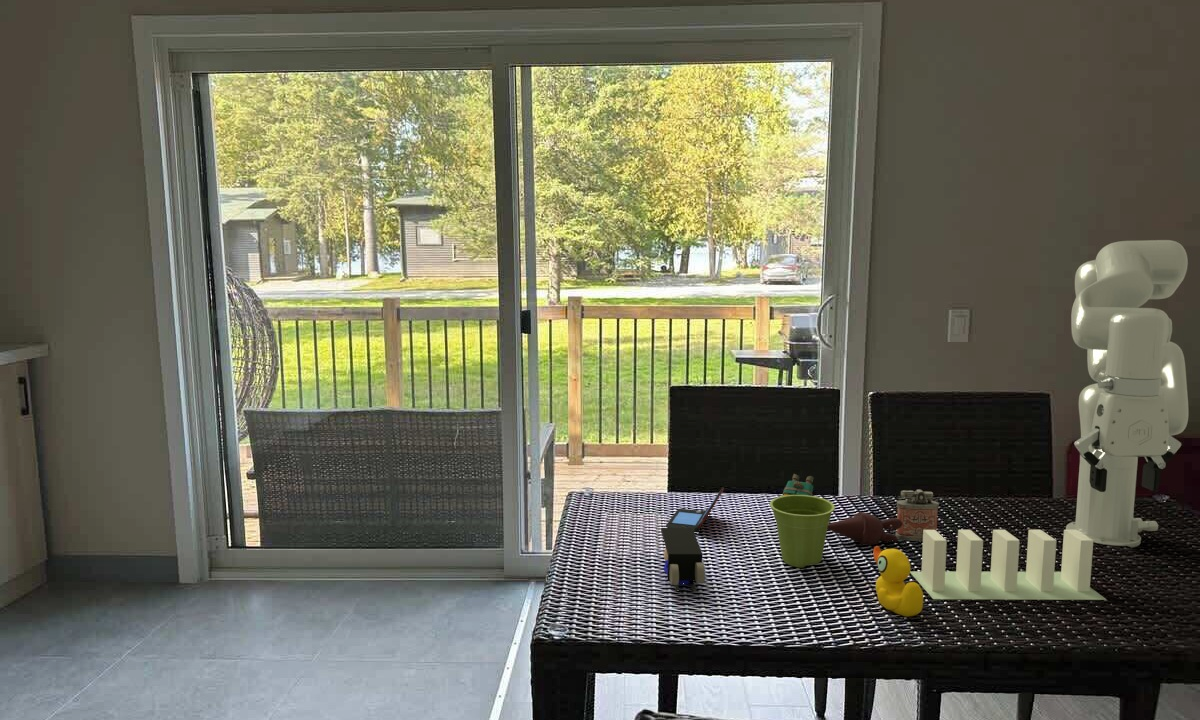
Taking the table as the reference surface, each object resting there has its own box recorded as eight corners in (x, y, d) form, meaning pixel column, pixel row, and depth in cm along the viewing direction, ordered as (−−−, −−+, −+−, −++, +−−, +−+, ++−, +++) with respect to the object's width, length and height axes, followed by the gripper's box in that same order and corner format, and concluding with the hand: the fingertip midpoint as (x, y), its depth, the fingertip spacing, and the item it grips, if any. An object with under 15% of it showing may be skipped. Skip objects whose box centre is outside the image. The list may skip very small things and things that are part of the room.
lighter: (933, 535, 155) (936, 488, 154) (939, 541, 152) (941, 493, 150) (893, 534, 156) (895, 487, 154) (898, 540, 152) (900, 492, 151)
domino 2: (967, 578, 132) (969, 529, 131) (980, 591, 127) (983, 540, 126) (955, 578, 132) (958, 529, 131) (968, 591, 127) (970, 540, 126)
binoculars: (777, 525, 168) (770, 497, 162) (788, 495, 173) (781, 466, 168) (818, 532, 163) (812, 503, 157) (828, 501, 169) (822, 472, 163)
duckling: (859, 597, 128) (861, 541, 126) (887, 593, 129) (889, 537, 128) (902, 628, 117) (904, 567, 115) (931, 623, 118) (934, 563, 117)
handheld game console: (677, 512, 172) (677, 481, 171) (724, 517, 168) (725, 485, 167) (663, 532, 160) (663, 498, 159) (713, 537, 156) (713, 503, 155)
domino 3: (1001, 578, 132) (1004, 529, 131) (1016, 591, 127) (1019, 540, 126) (990, 578, 132) (993, 529, 131) (1004, 591, 127) (1007, 540, 126)
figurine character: (708, 604, 130) (692, 559, 144) (709, 564, 128) (693, 523, 142) (669, 605, 129) (657, 561, 144) (669, 565, 127) (658, 524, 142)
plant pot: (772, 546, 151) (773, 492, 149) (834, 553, 147) (836, 497, 145) (765, 569, 140) (766, 511, 138) (831, 577, 136) (833, 517, 134)
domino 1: (932, 578, 133) (934, 529, 131) (944, 591, 128) (946, 540, 126) (921, 578, 133) (923, 529, 131) (932, 591, 128) (934, 540, 126)
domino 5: (1072, 578, 131) (1075, 529, 130) (1089, 591, 126) (1093, 540, 125) (1060, 578, 131) (1064, 529, 130) (1077, 591, 127) (1081, 540, 125)
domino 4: (1037, 578, 132) (1040, 529, 130) (1052, 591, 127) (1056, 540, 125) (1025, 578, 132) (1028, 529, 131) (1040, 591, 127) (1044, 540, 126)
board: (1068, 575, 134) (1068, 571, 134) (1106, 604, 124) (1106, 599, 123) (909, 575, 136) (909, 571, 136) (933, 603, 125) (933, 598, 125)
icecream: (831, 522, 145) (910, 528, 145) (823, 501, 152) (897, 506, 152) (825, 552, 148) (902, 558, 148) (817, 529, 155) (890, 535, 155)
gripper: (1091, 391, 121) (1083, 496, 123) (1203, 390, 120) (1193, 496, 122) (1064, 383, 128) (1058, 483, 130) (1170, 382, 127) (1161, 482, 130)
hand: (1123, 488), depth 126 cm, fingers open, 7 cm apart
